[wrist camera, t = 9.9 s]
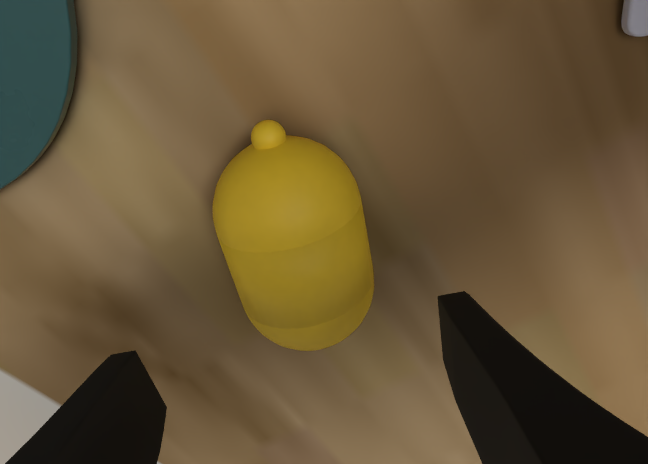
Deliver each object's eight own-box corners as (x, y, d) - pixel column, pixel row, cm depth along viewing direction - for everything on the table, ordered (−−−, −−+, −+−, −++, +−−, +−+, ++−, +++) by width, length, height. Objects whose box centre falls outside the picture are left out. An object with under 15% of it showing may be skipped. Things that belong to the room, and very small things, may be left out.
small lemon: (338, 85, 15) (352, 129, 11) (375, 294, 19) (394, 380, 15) (200, 114, 15) (164, 167, 11) (267, 313, 19) (258, 403, 15)
